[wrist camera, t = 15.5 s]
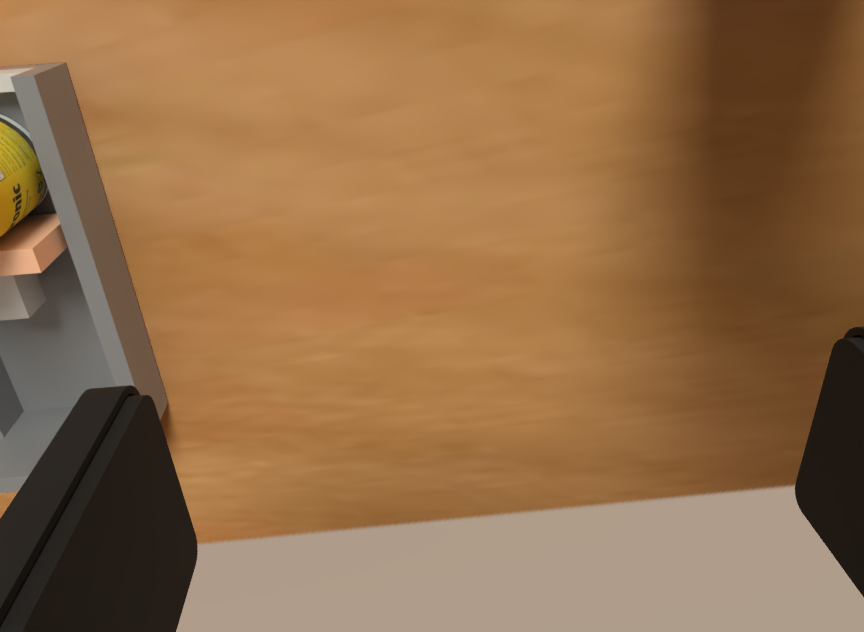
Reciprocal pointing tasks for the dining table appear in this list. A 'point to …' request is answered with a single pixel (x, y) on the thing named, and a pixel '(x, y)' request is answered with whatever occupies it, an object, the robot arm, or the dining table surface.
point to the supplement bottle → (18, 175)
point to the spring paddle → (27, 263)
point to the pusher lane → (66, 285)
